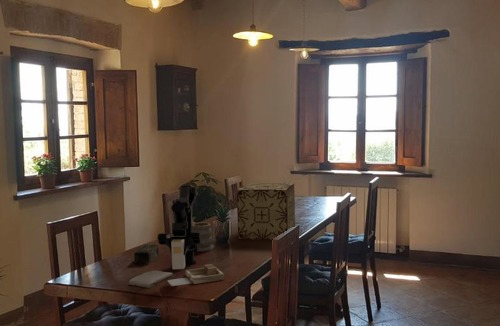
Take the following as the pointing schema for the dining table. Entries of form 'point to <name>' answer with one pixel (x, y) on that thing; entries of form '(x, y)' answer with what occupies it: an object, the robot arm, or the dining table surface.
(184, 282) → the coaster
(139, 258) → the beverage carton
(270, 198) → the decorative box
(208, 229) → the tankard
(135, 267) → the dining table surface
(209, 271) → the walnut box
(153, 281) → the washcloth
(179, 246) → the cream box
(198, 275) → the tray
